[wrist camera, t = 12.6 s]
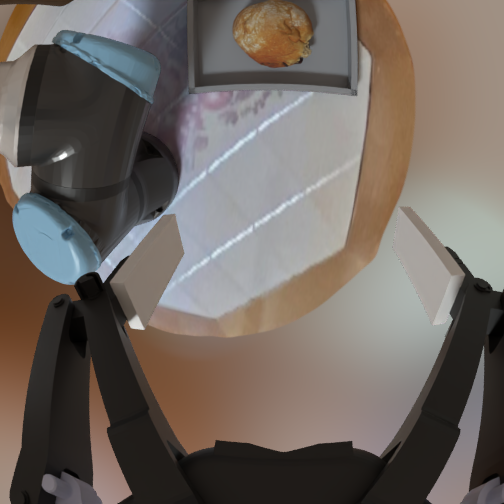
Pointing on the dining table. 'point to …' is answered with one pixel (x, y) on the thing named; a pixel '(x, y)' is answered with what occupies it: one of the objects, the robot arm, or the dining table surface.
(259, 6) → the bread roll
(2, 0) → the olive oil
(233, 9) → the tray
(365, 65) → the dining table surface
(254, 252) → the dining table surface
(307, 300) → the dining table surface
